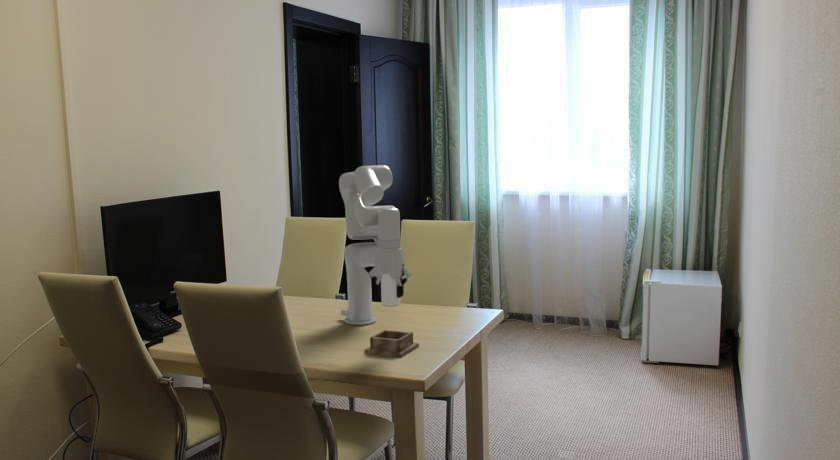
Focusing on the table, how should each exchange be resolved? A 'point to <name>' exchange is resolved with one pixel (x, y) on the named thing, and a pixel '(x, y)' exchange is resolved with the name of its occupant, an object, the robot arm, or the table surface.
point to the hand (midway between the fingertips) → (390, 295)
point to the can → (389, 291)
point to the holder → (392, 343)
